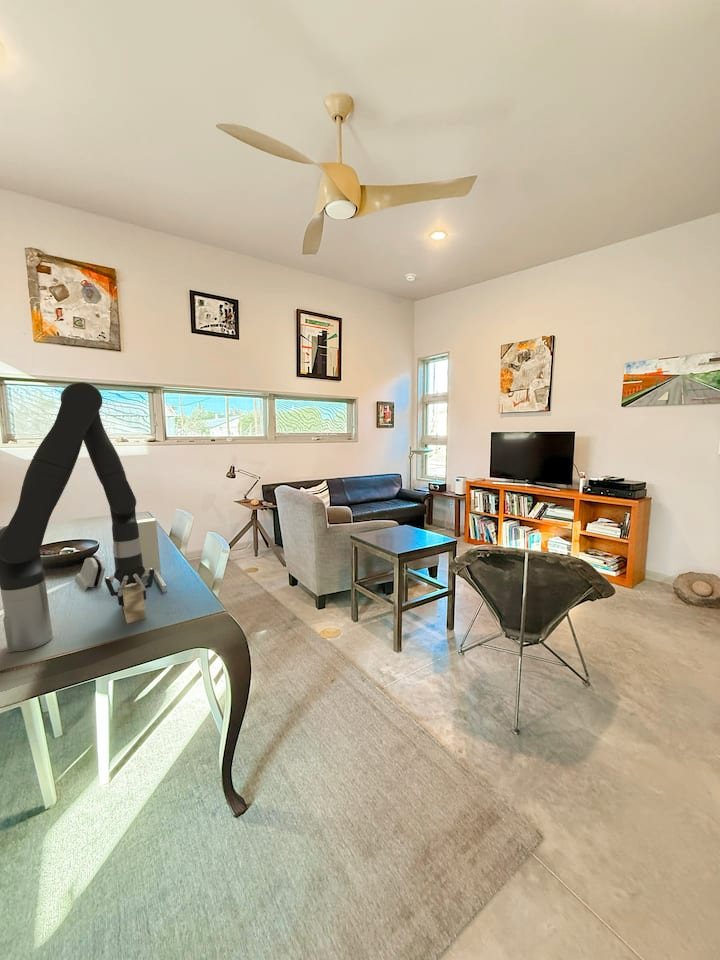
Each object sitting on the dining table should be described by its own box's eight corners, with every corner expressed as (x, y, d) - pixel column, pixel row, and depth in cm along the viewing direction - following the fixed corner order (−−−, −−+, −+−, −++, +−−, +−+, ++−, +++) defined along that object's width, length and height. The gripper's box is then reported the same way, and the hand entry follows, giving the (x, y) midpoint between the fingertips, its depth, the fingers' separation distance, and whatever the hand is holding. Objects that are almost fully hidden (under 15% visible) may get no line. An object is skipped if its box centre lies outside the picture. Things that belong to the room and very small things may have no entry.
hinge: (74, 578, 152) (82, 553, 153) (88, 579, 155) (96, 554, 156) (84, 590, 140) (93, 563, 141) (99, 591, 144) (107, 564, 145)
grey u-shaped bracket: (133, 599, 133) (127, 538, 130) (125, 576, 153) (119, 522, 150) (171, 590, 140) (166, 531, 137) (158, 569, 161) (154, 518, 157)
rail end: (127, 623, 117) (124, 595, 116) (122, 605, 129) (119, 580, 127) (145, 618, 120) (143, 591, 119) (139, 601, 132) (136, 576, 130)
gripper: (101, 560, 114) (107, 614, 117) (155, 551, 123) (159, 601, 125) (99, 554, 120) (105, 605, 123) (151, 545, 129) (155, 593, 131)
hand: (132, 603), depth 124 cm, fingers closed on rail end, 5 cm apart
